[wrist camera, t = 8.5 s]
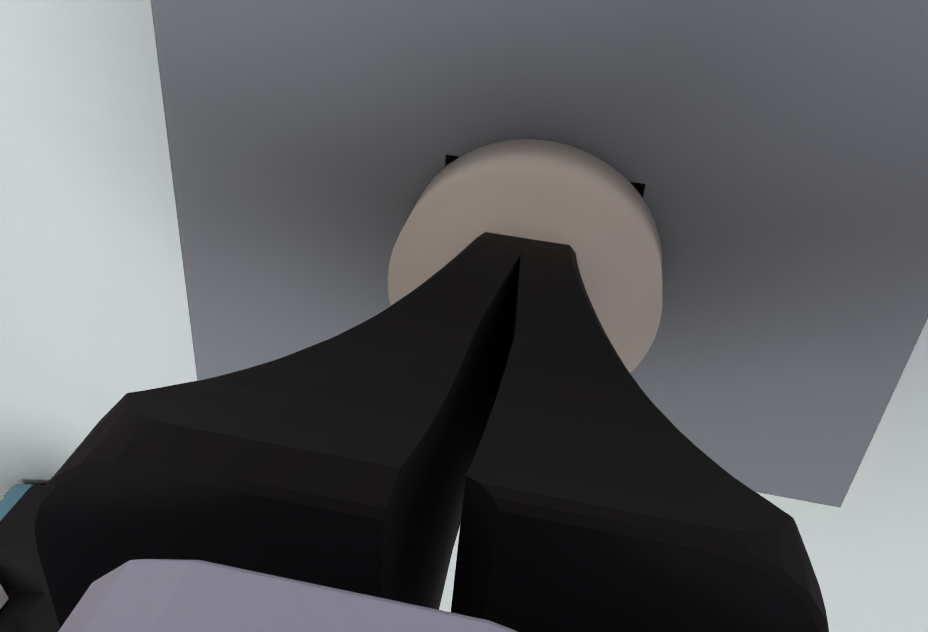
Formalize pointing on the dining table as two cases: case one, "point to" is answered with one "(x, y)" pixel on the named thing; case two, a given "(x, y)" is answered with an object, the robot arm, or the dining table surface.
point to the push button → (22, 567)
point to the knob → (544, 229)
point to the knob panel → (603, 135)
